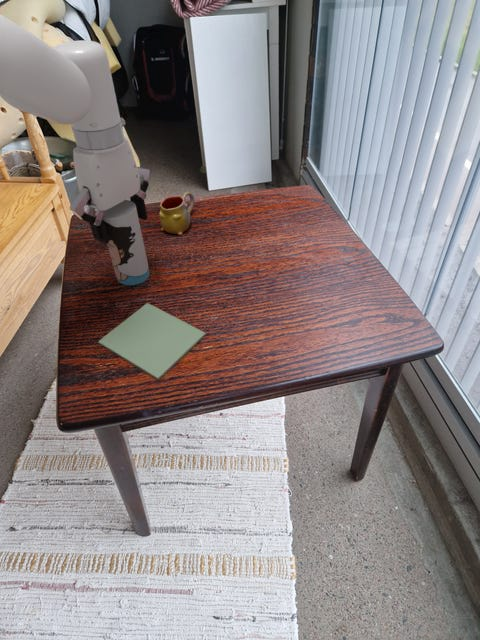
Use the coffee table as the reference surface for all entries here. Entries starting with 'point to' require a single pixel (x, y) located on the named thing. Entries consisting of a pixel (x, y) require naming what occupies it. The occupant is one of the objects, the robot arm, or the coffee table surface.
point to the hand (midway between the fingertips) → (122, 228)
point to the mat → (152, 340)
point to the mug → (176, 213)
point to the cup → (126, 243)
